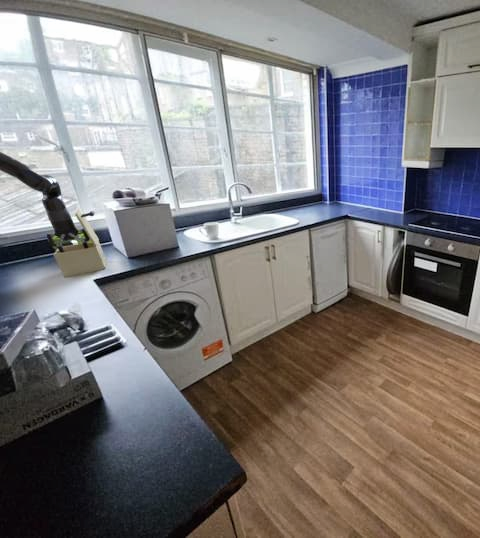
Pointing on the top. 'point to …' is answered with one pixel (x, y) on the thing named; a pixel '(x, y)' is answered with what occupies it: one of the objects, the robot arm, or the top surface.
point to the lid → (87, 226)
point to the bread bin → (80, 259)
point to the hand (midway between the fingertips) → (75, 251)
